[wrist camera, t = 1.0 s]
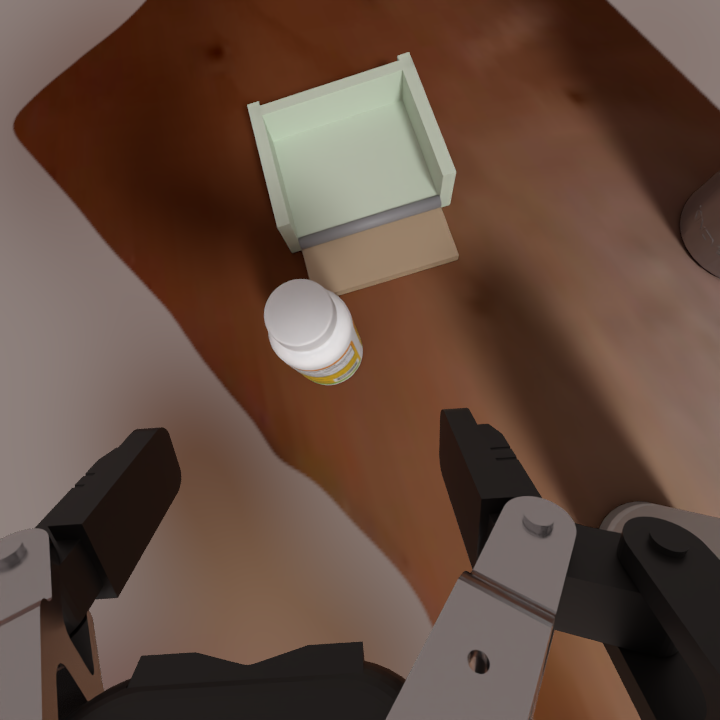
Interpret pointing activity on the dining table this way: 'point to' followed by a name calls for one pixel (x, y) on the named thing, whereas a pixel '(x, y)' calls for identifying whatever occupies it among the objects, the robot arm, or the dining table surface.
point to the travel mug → (706, 528)
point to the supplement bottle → (313, 331)
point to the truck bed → (359, 177)
